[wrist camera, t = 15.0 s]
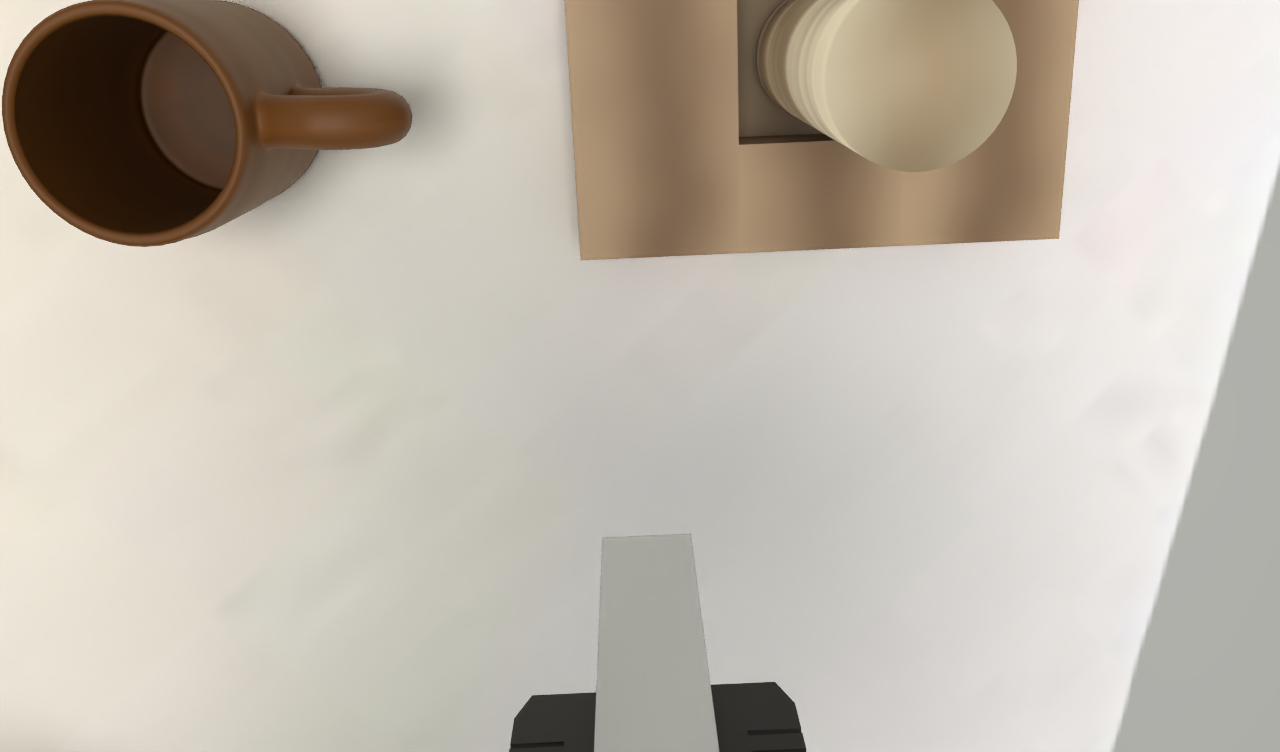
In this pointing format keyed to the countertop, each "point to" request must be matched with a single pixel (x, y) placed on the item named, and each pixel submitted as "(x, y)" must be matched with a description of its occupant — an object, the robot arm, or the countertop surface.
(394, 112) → the mug
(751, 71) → the board
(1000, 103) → the leg
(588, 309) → the countertop surface
